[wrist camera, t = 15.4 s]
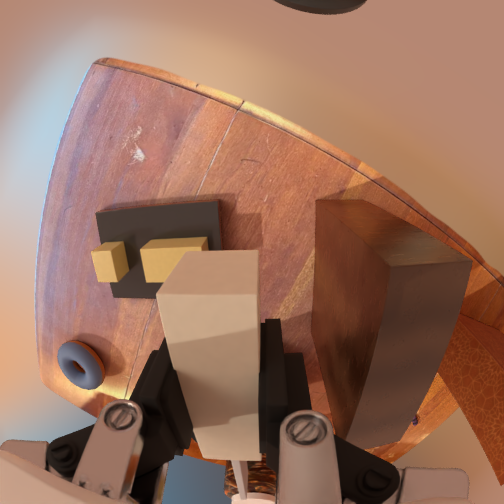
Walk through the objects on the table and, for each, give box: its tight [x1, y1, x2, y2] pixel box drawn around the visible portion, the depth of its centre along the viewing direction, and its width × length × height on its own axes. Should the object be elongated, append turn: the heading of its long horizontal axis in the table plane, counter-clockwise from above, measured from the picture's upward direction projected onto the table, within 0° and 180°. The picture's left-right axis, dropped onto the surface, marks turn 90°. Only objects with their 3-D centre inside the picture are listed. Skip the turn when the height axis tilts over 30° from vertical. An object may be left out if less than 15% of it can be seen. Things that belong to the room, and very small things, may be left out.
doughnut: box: [57, 340, 105, 390], centre depth 39 cm, size 10×10×5 cm
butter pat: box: [91, 241, 129, 282], centre depth 31 cm, size 4×3×4 cm
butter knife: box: [156, 250, 262, 500], centre depth 10 cm, size 16×2×3 cm, turn 2°
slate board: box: [96, 199, 224, 299], centre depth 33 cm, size 12×16×2 cm
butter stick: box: [140, 237, 209, 282], centre depth 31 cm, size 4×7×4 cm, turn 93°
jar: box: [224, 453, 276, 504], centre depth 41 cm, size 12×12×15 cm
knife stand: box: [311, 200, 473, 450], centre depth 25 cm, size 18×6×20 cm, turn 3°
